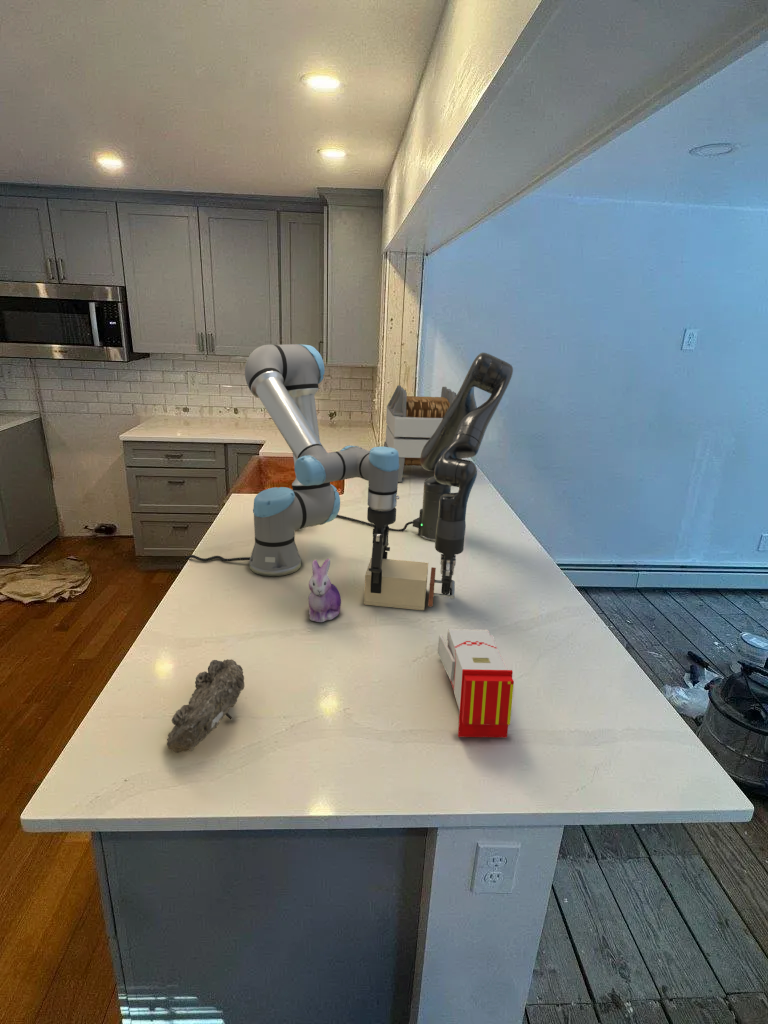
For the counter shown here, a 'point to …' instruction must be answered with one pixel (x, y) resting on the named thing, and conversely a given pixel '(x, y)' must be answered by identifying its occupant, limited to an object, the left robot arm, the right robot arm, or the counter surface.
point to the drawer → (431, 593)
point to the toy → (478, 682)
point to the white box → (413, 423)
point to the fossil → (206, 705)
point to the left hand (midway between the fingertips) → (378, 582)
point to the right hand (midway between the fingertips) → (445, 592)
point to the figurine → (323, 594)
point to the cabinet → (399, 585)
